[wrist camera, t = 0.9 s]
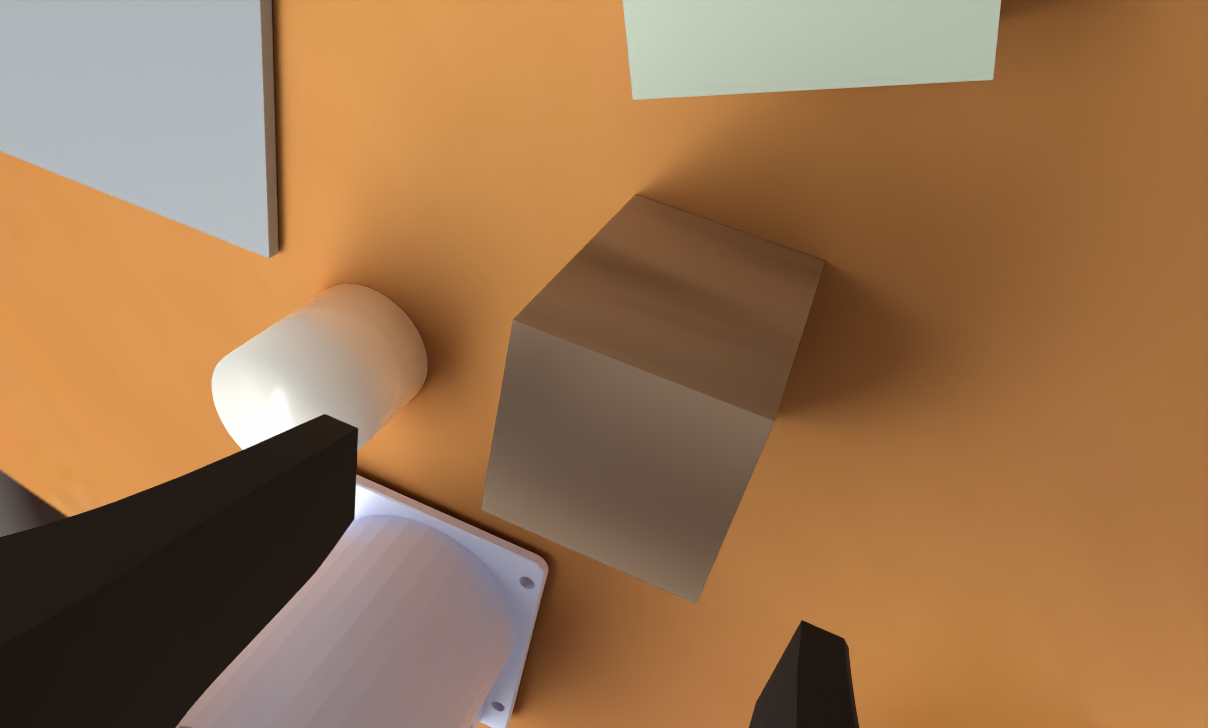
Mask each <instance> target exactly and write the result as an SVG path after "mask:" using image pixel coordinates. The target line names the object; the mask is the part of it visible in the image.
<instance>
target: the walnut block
mask: <svg viewBox="0 0 1208 728" xmlns="http://www.w3.org/2000/svg"><path fill="white" fill-rule="evenodd" d="M824 264H825V260H822V259H819V258H817V257H814V256H811V255H808V254H805V253H802V252H799V251H797V250H794V249H791V248H788V247H785V246H782V245H779V244H777V243H774V242H771V241H768V240H765V239H762V238H759V237H757V236H754V235H751V234H748V233H745V232H742V231H739V230H737V229H734V228H731V227H728V226H725V225H722V224H719V223H716V222H714V221H711V220H708V219H705V218H702V217H699V216H696V215H694V214H691V213H688V212H685V211H682V210H679V209H676V208H674V207H671V206H668V205H665V204H662V203H659V202H656V201H654V200H651V199H648V198H645V197H642V196H639V195H636V194H635V195H634V197H633V198H632V199H631V200H630V201H629V202H628V203H627V204H626V205H625V206H624V207H623V208H622V209H621V210H620V211H619V212H618V213H617V214H616V215H615V216H614V217H613V218H612V219H611V220H610V221H609V222H608V223H607V224H606V225H605V226H604V227H603V228H602V229H601V230H600V231H599V232H598V233H597V234H596V235H595V236H594V237H593V238H592V239H591V241H590V242H589V243H588V244H587V245H586V246H585V247H584V248H583V249H582V250H581V251H580V252H579V253H578V254H577V255H576V256H575V257H574V258H573V259H572V260H571V261H570V262H569V263H568V264H567V265H566V266H565V267H564V268H563V269H562V270H561V271H560V272H559V273H558V274H557V275H556V276H555V277H554V278H553V279H552V280H551V281H550V282H549V283H548V284H547V286H546V287H545V288H544V289H543V290H542V291H541V292H540V293H539V294H538V295H537V296H536V297H535V298H534V299H533V300H532V301H531V302H530V303H529V304H528V305H527V306H526V307H525V308H524V309H523V310H522V311H521V312H520V313H519V314H518V315H517V316H516V317H515V318H514V319H513V323H512V329H511V335H510V341H509V347H508V353H507V359H506V364H505V370H504V376H503V382H502V388H501V394H500V400H499V406H498V412H497V418H496V423H495V429H494V435H493V441H492V447H491V453H490V459H489V465H488V471H487V476H486V482H485V488H484V494H483V500H482V506H481V510H482V511H484V512H486V513H489V514H491V515H493V516H495V517H498V518H500V519H502V520H505V521H507V522H509V523H511V524H514V525H516V526H518V527H521V528H523V529H525V530H527V531H530V532H532V533H534V534H537V535H539V536H541V537H543V538H546V539H548V540H550V541H553V542H555V543H557V544H559V545H562V546H564V547H566V548H569V549H571V550H573V551H575V552H578V553H580V554H582V555H585V556H587V557H589V558H591V559H594V560H596V561H598V562H601V563H603V564H605V565H607V566H610V567H612V568H614V569H617V570H619V571H621V572H623V573H626V574H628V575H630V576H633V577H635V578H637V579H639V580H642V581H644V582H646V583H649V584H651V585H653V586H655V587H658V588H660V589H662V590H665V591H667V592H669V593H671V594H674V595H676V596H678V597H681V598H683V599H685V600H687V601H690V602H692V603H694V604H697V601H698V599H699V597H700V594H701V592H702V590H703V587H704V585H705V583H706V580H707V578H708V576H709V573H710V571H711V569H712V566H713V564H714V562H715V559H716V557H717V555H718V552H719V550H720V548H721V545H722V543H723V541H724V538H725V536H726V534H727V531H728V529H729V527H730V524H731V522H732V520H733V517H734V515H735V513H736V510H737V508H738V506H739V503H740V501H741V499H742V496H743V494H744V492H745V489H746V487H747V485H748V482H749V480H750V478H751V475H752V473H753V471H754V468H755V466H756V464H757V461H758V459H759V457H760V454H761V452H762V450H763V447H764V445H765V443H766V440H767V438H768V436H769V433H770V431H771V429H772V426H773V424H774V422H775V418H776V415H777V412H778V409H779V406H780V403H781V400H782V396H783V393H784V390H785V387H786V384H787V381H788V377H789V374H790V371H791V368H792V365H793V362H794V359H795V355H796V352H797V349H798V346H799V343H800V340H801V337H802V333H803V330H804V327H805V324H806V321H807V318H808V315H809V311H810V308H811V305H812V302H813V299H814V296H815V293H816V289H817V286H818V283H819V280H820V277H821V274H822V270H823V267H824Z"/></svg>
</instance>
